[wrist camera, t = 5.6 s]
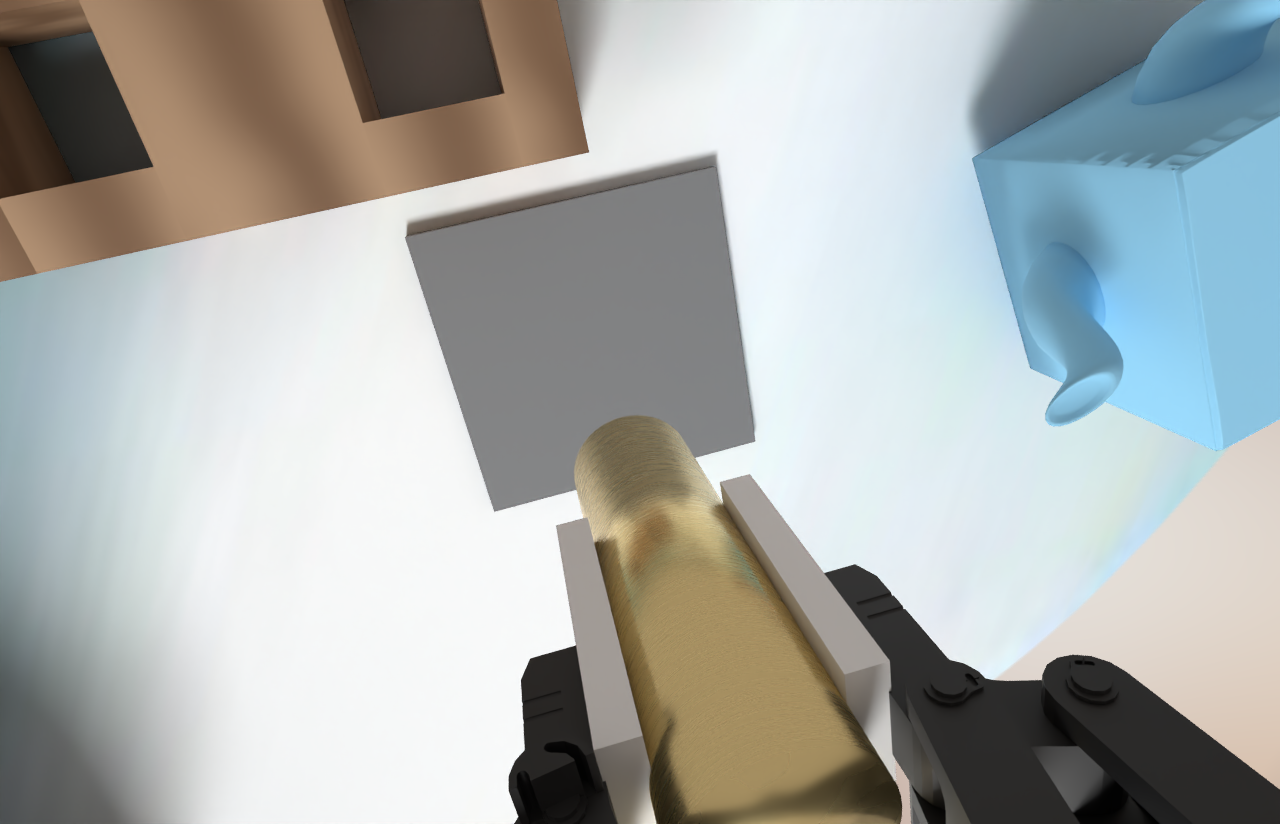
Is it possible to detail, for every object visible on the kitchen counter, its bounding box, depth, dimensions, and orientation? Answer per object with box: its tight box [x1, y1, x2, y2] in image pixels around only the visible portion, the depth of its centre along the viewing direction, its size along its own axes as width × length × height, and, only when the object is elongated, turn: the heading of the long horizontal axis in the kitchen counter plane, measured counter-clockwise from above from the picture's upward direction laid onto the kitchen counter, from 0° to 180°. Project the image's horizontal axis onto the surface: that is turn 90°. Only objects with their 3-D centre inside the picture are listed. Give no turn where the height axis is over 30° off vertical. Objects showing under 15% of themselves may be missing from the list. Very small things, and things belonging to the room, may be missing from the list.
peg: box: [574, 415, 902, 824], centre depth 16 cm, size 4×4×12 cm
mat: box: [405, 167, 755, 512], centre depth 34 cm, size 14×14×1 cm
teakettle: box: [972, 0, 1280, 451], centre depth 30 cm, size 19×19×15 cm
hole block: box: [0, 0, 589, 282], centre depth 25 cm, size 22×10×5 cm, turn 101°
